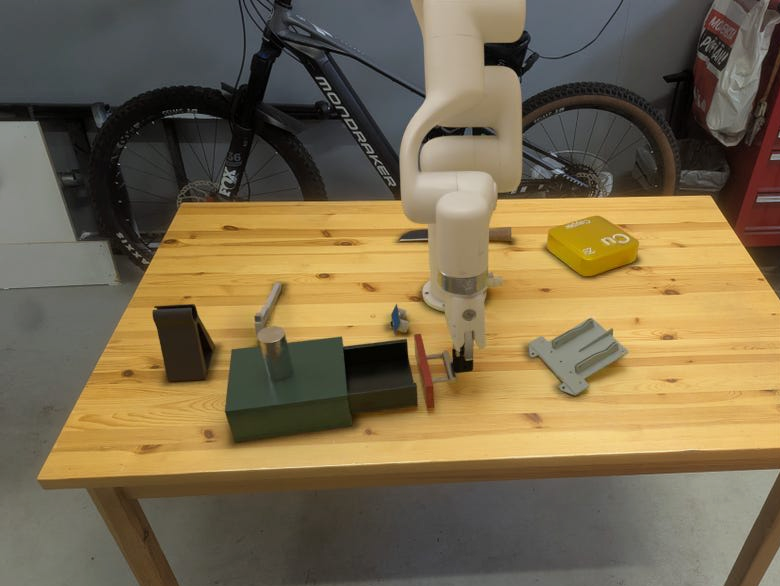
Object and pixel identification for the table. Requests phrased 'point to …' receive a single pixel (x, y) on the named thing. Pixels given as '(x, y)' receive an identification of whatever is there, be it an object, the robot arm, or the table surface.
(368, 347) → the drawer
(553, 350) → the metal bracket
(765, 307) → the table surface
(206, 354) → the phone stand
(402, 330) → the ultrasonic sensor
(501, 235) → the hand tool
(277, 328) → the tin
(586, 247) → the element tile
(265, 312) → the grey bent bar
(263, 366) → the cabinet
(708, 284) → the table surface
